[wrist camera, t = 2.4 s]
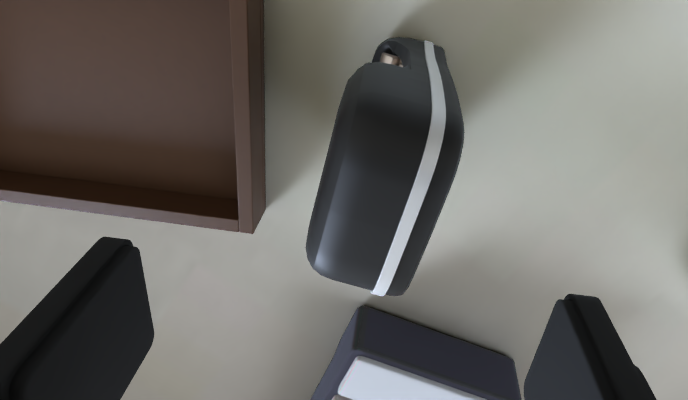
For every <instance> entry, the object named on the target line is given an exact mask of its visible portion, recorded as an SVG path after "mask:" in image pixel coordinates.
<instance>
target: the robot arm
mask: <svg viewBox="0 0 688 400" xmlns="http://www.w3.org/2000/svg"><path fill="white" fill-rule="evenodd" d="M153 338H154V329H153V323H152V318H151V312H150V306H149V301H148V295H147V290H146V284H145V278H144V273H143V267H142V262H141V256H140V251H139V249H138V248H137V247H133V244H132V242H131V241H130V240H127V239H119V238H111V237H102V238H100V239H99V240H98V241H97V242H96V243H95V244H94V245H93V246H92V247H91V248H90V250H89V251H88V252H87V253H86V254H85V255H84V256H83V257H82V258H81V259H80V260H79V261H78V262H77V263H76V264H75V265H74V267H73V268H72V269H71V270H70V271H69V272H68V273H67V274H66V275H65V276H64V277H63V278H62V279H61V280H60V281H59V282H58V284H57V285H56V286H55V287H54V288H53V289H52V290H51V291H50V292H49V293H48V294H47V295H46V296H45V297H44V298H43V299H42V301H41V302H40V303H39V304H38V305H37V306H36V307H35V308H34V309H33V310H32V311H31V312H30V313H29V314H28V315H27V316H26V318H25V319H24V320H23V321H22V322H21V323H20V324H19V325H18V326H17V327H16V328H15V329H14V330H13V331H12V332H11V334H10V335H9V336H8V337H7V338H6V339H5V340H4V341H3V342H2V343H1V344H0V400H120V399H121V397H122V396H123V394H124V392H125V390H126V389H127V387H128V385H129V384H130V382H131V380H132V378H133V377H134V375H135V373H136V372H137V370H138V368H139V366H140V365H141V363H142V361H143V360H144V358H145V356H146V354H147V353H148V351H149V349H150V347H151V345H152V342H153ZM524 398H525V400H656V398H655V396H654V394H653V392H652V390H651V388H650V387H649V385H648V383H647V381H646V379H645V377H644V375H643V374H642V372H641V371H640V369H639V368H638V367H636V366H635V365H634V364H633V362H632V360H631V359H630V357H629V355H628V353H627V351H626V349H625V347H624V345H623V343H622V341H621V339H620V337H619V335H618V333H617V332H616V330H615V328H614V326H613V324H612V322H611V320H610V318H609V316H608V314H607V312H606V310H605V308H604V306H603V305H602V303H601V301H600V300H599V298H597V297H592V296H584V295H576V294H568V295H567V296H566V297H565V299H564V300H561V299H560V300H558V301H557V302H556V304H555V306H554V308H553V311H552V313H551V316H550V318H549V321H548V324H547V326H546V329H545V331H544V334H543V336H542V339H541V341H540V344H539V346H538V349H537V351H536V354H535V356H534V359H533V362H532V364H531V367H530V369H529V372H528V374H527V377H526V379H525V383H524Z"/></svg>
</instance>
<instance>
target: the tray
mask: <svg viewBox="0 0 688 400" xmlns="http://www.w3.org/2000/svg"><path fill="white" fill-rule="evenodd" d="M0 201H6V202H14V203H21V204H29V205H37V206H44V207H52V208H59V209H67V210H75V211H82V212H90V213H97V214H105V215H113V216H120V217H128V218H135V219H143V220H151V221H158V222H166V223H173V224H181V225H189V226H196V227H204V228H211V229H219V230H227V231H234V232H243V233H250V234H253V233H254V231H255V229H256V227H257V225H258V223H259V221H260V219H261V217H262V215H263V213H264V211H265V209H266V194H265V94H264V0H0Z"/></svg>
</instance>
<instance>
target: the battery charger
mask: <svg viewBox="0 0 688 400" xmlns="http://www.w3.org/2000/svg"><path fill="white" fill-rule="evenodd" d="M463 142H464V123H463V118H462V113H461V108H460V103H459V99H458V95H457V91H456V88H455V85H454V82H453V79H452V76H451V74H450V71H449V69H448V66H447V62H446V58H445V52H444V50H443V48H441V47H439V46H437V45H433V42H430V41H426V40H424V42H422V41H419V40H415V39H412V38H400V37H398V38H391V39H388V40H386V41H384V42H382V43H381V44H380V45H379V46H378V48H377V50H376V52H375V54H374V57H373V60H372V63H366V64H364V65H363V66H361V67H360V68H358V69H357V71H356V72H355V73H354V74H353V75H352V76H351V78H350V79H349V80H348V82H347V85H346V87H345V90H344V93H343V96H342V99H341V102H340V105H339V109H338V112H337V116H336V120H335V125H334V129H333V133H332V137H331V141H330V145H329V149H328V153H327V157H326V160H325V164H324V168H323V172H322V176H321V180H320V184H319V188H318V192H317V196H316V200H315V204H314V208H313V212H312V216H311V220H310V225H309V230H308V236H307V242H306V252H307V258H308V260H309V262H310V264H311V266H312V268H313V269H314V270H315V271H317V272H318V273H319V274H320V275H322V276H325V277H327V278H330V279H332V280H335V281H339V282H343V283H346V284H350V285H354V286H357V287H361V288H365V289H368V290H370V293H372V294H375V295H379V296H384V295H385V294H387V295H391V296H399V295H402V294H403V293H404V292H405V291H406V290H407V288H408V287H409V285H410V283H411V281H412V279H413V276H414V274H415V272H416V269H417V267H418V265H419V262H420V260H421V258H422V255H423V253H424V251H425V248H426V246H427V244H428V241H429V239H430V237H431V234H432V232H433V229H434V227H435V224H436V222H437V220H438V217H439V215H440V212H441V210H442V207H443V205H444V202H445V200H446V198H447V195H448V193H449V190H450V188H451V185H452V182H453V180H454V177H455V174H456V171H457V168H458V165H459V161H460V158H461V153H462V148H463Z"/></svg>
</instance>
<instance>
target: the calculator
mask: <svg viewBox="0 0 688 400" xmlns="http://www.w3.org/2000/svg"><path fill="white" fill-rule="evenodd" d="M311 400H521V395H520V389H519V384H518V379H517V374H516V369H515V364H514V361H513V359H511V358H509V357H506V356H504V355H501V354H498V353H495V352H492V351H490V350H487V349H484V348H481V347H478V346H476V345H473V344H470V343H467V342H464V341H462V340H459V339H456V338H453V337H450V336H448V335H445V334H442V333H439V332H437V331H434V330H431V329H428V328H425V327H423V326H420V325H417V324H414V323H411V322H409V321H406V320H403V319H400V318H397V317H395V316H392V315H389V314H386V313H383V312H381V311H378V310H375V309H372V308H369V307H366V306H360V307H358V308H357V310H356V312H355V313H354V315H353V317H352V319H351V321H350V323H349V325H348V326H347V328H346V330H345V332H344V334H343V336H342V338H341V340H340V342H339V345H338V347H337V350H336V352H335V355H334V357H333V359H332V361H331V363H330V364H329V366H328V368H327V370H326V372H325V374H324V376H323V377H322V379H321V381H320V383H319V385H318V387H317V388H316V390H315V392H314V394H313V396H312V398H311Z"/></svg>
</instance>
